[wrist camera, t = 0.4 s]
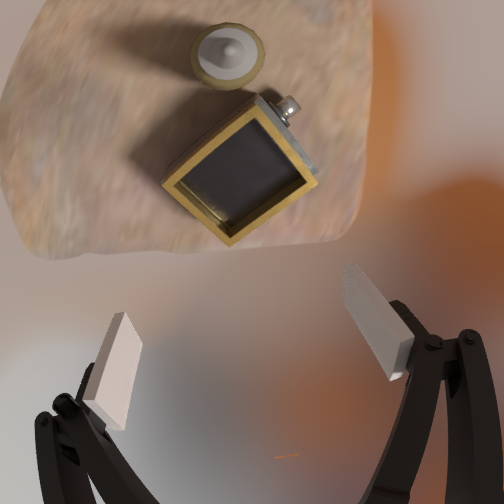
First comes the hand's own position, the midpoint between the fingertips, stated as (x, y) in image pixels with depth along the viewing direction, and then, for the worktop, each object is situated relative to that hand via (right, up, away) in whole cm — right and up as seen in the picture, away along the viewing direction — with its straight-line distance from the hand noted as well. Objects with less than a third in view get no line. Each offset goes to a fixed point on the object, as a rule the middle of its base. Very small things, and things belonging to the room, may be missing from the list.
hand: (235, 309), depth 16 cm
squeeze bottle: (-2, +27, +13) cm, 30 cm away
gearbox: (0, +16, +21) cm, 27 cm away
